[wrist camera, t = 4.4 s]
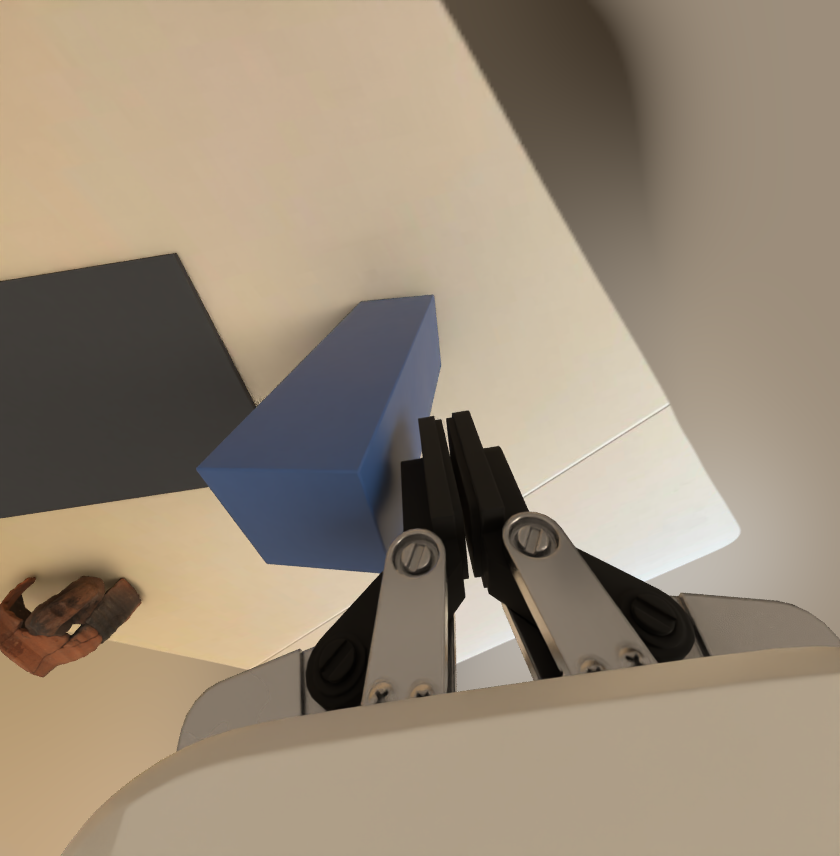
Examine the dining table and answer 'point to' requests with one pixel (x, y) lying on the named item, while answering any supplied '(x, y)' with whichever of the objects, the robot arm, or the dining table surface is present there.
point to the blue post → (334, 442)
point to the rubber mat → (109, 386)
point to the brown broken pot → (63, 622)
